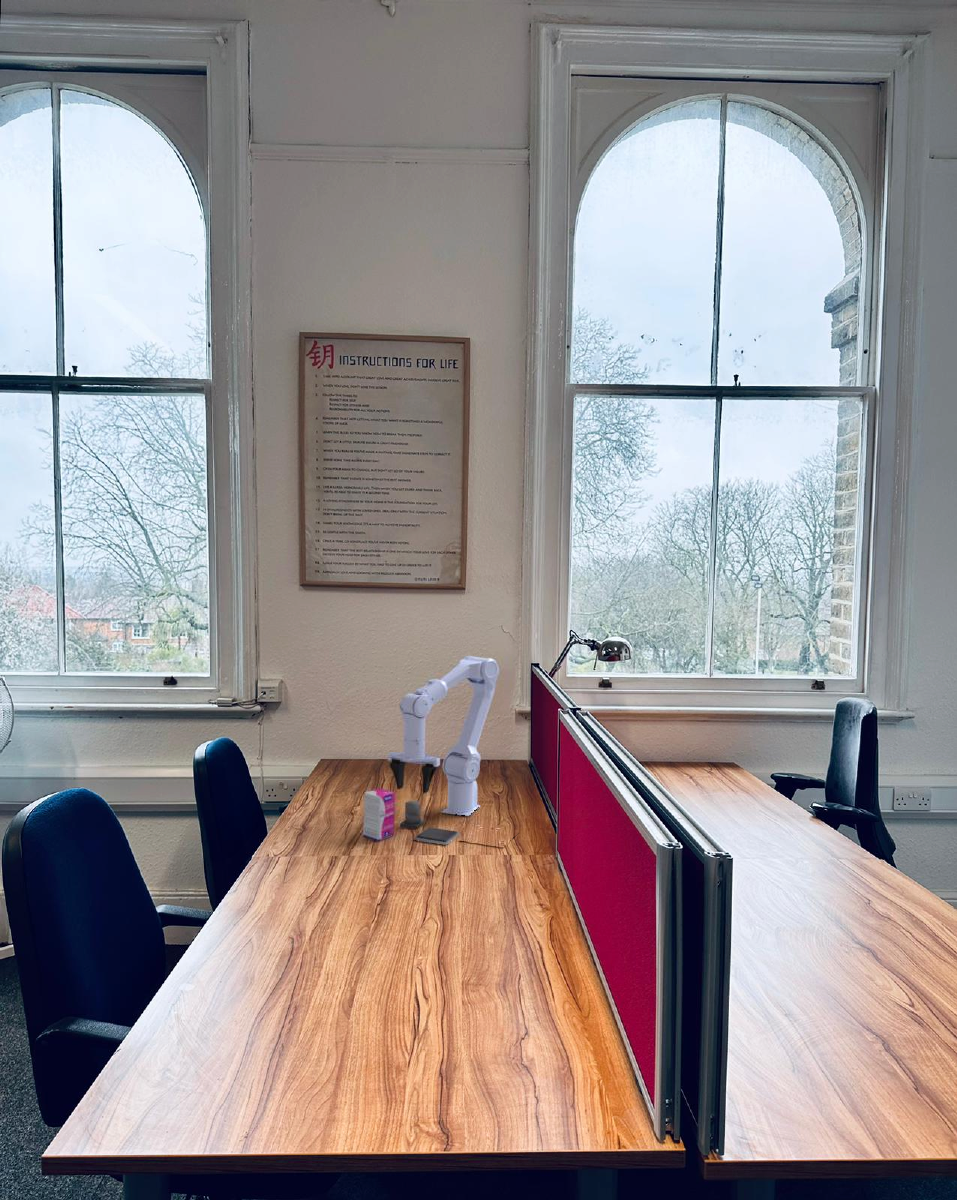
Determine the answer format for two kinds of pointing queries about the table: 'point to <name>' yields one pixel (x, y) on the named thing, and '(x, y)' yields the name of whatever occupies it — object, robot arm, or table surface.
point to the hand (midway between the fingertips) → (413, 790)
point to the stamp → (412, 816)
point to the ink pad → (436, 836)
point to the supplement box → (379, 814)
